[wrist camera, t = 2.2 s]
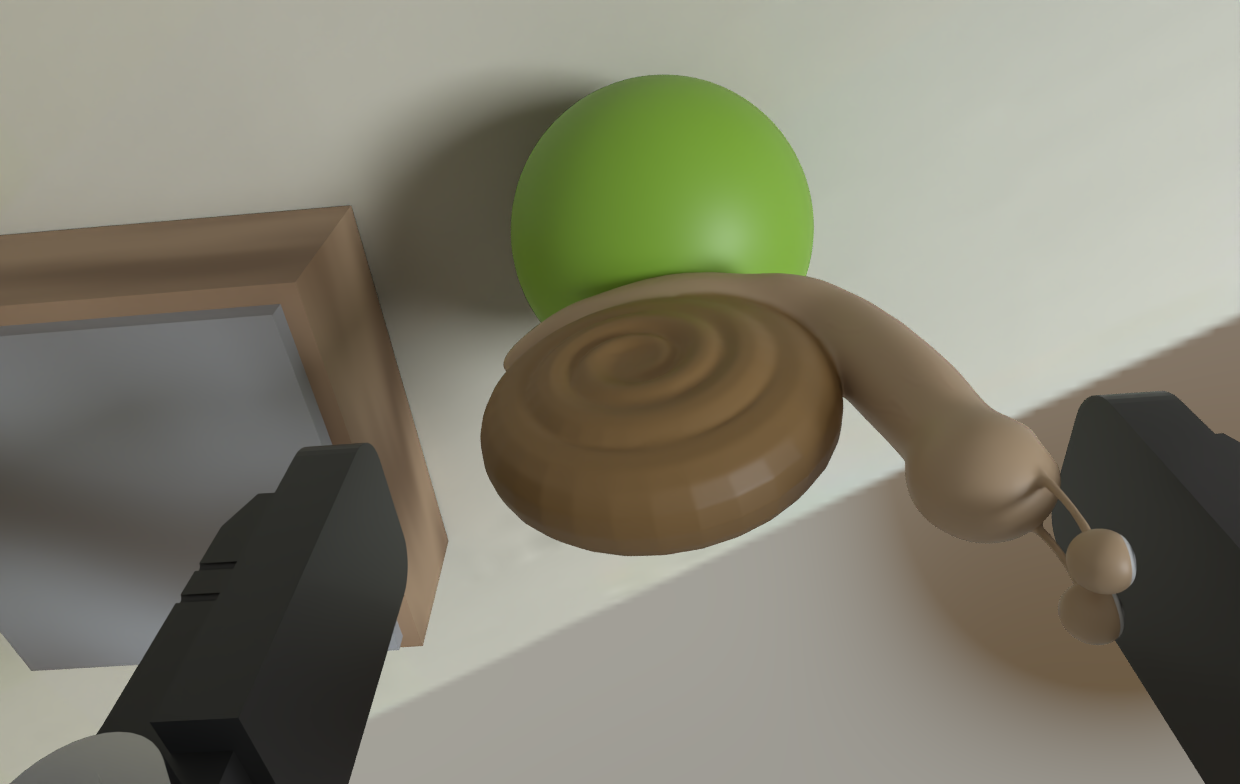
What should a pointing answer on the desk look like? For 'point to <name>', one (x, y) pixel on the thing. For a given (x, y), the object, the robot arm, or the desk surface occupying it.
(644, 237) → the snail figurine
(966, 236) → the desk surface
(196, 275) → the plinth
